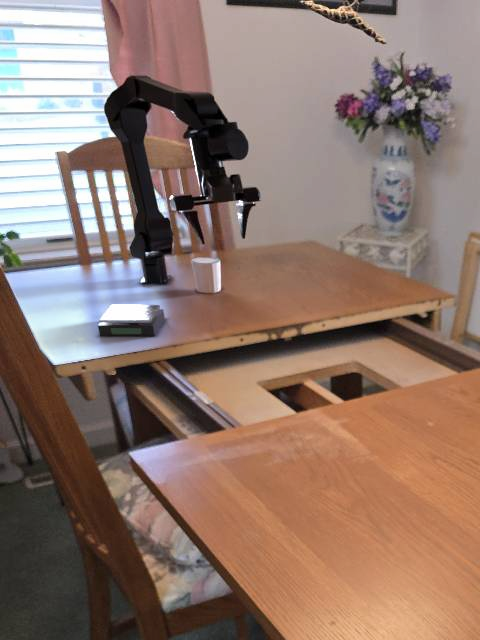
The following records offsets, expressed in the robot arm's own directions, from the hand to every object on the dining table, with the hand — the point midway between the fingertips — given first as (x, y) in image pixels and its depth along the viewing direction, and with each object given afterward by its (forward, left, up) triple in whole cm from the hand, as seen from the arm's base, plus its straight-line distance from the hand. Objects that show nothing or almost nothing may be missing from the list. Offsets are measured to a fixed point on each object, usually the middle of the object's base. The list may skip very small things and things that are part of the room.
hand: (223, 241), depth 157 cm
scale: (+17, -18, -14) cm, 28 cm away
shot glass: (-11, -6, -14) cm, 19 cm away
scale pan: (+17, -18, -11) cm, 27 cm away
